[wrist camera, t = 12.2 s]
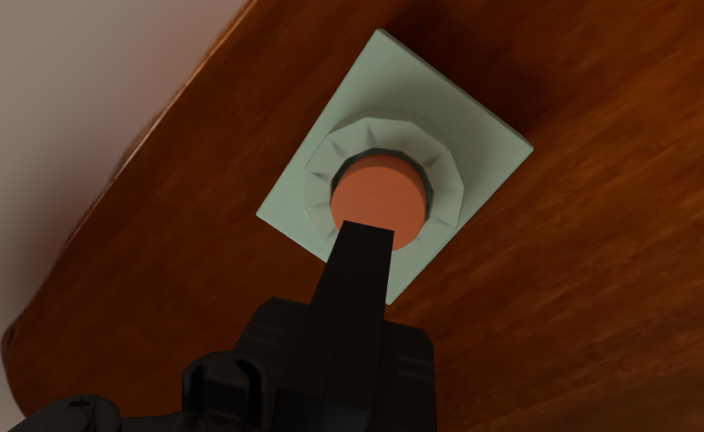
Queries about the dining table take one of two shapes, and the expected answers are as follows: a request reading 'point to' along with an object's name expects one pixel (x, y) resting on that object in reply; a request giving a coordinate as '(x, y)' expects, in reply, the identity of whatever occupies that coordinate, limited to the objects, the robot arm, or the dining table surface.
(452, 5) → the dining table surface
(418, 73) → the block
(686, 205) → the dining table surface
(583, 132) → the dining table surface
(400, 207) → the button
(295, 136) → the dining table surface
